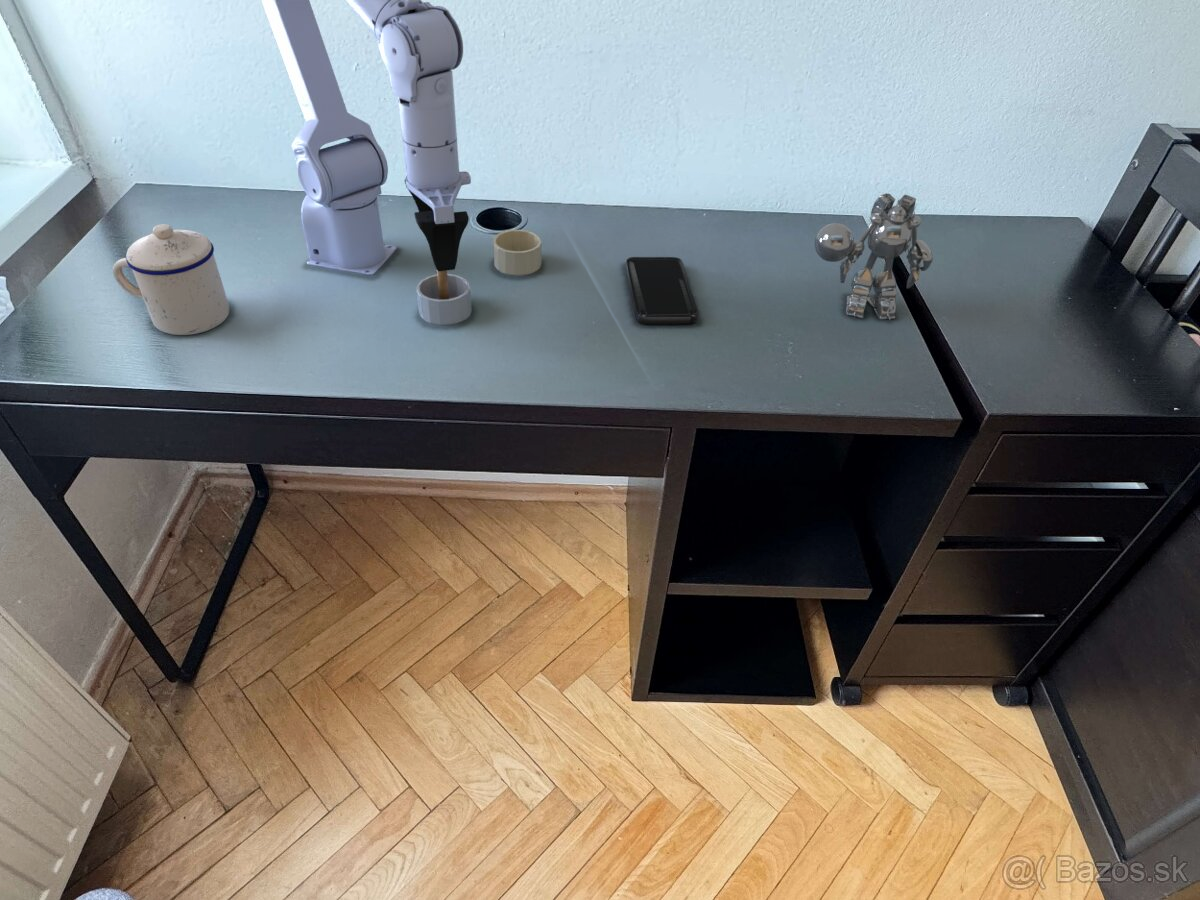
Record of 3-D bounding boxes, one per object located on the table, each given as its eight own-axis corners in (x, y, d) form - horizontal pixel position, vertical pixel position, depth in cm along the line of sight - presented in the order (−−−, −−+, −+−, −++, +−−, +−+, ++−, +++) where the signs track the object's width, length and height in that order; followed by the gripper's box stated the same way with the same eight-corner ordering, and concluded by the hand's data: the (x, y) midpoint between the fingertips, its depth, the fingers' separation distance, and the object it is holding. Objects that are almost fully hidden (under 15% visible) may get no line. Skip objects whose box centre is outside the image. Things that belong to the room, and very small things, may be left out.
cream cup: (487, 273, 108) (486, 248, 105) (502, 251, 112) (501, 226, 110) (533, 281, 107) (533, 255, 104) (546, 258, 111) (546, 233, 109)
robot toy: (802, 315, 104) (830, 206, 94) (796, 290, 108) (823, 184, 98) (916, 323, 104) (957, 215, 94) (905, 298, 108) (943, 192, 98)
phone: (638, 316, 99) (625, 256, 110) (637, 324, 100) (625, 263, 111) (700, 316, 100) (682, 256, 111) (699, 324, 101) (681, 264, 112)
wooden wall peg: (433, 316, 98) (428, 262, 93) (431, 307, 100) (425, 253, 95) (459, 313, 99) (455, 259, 94) (456, 304, 101) (452, 250, 96)
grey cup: (411, 323, 98) (408, 296, 96) (431, 296, 103) (428, 270, 100) (461, 331, 97) (459, 304, 95) (478, 304, 102) (477, 278, 99)
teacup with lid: (243, 298, 100) (218, 211, 92) (215, 340, 93) (185, 249, 86) (147, 292, 100) (114, 204, 92) (112, 333, 93) (73, 242, 85)
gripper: (479, 162, 81) (486, 280, 90) (456, 111, 91) (463, 221, 100) (409, 167, 79) (422, 287, 88) (393, 114, 90) (406, 227, 99)
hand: (440, 253), depth 94 cm, fingers open, 7 cm apart
